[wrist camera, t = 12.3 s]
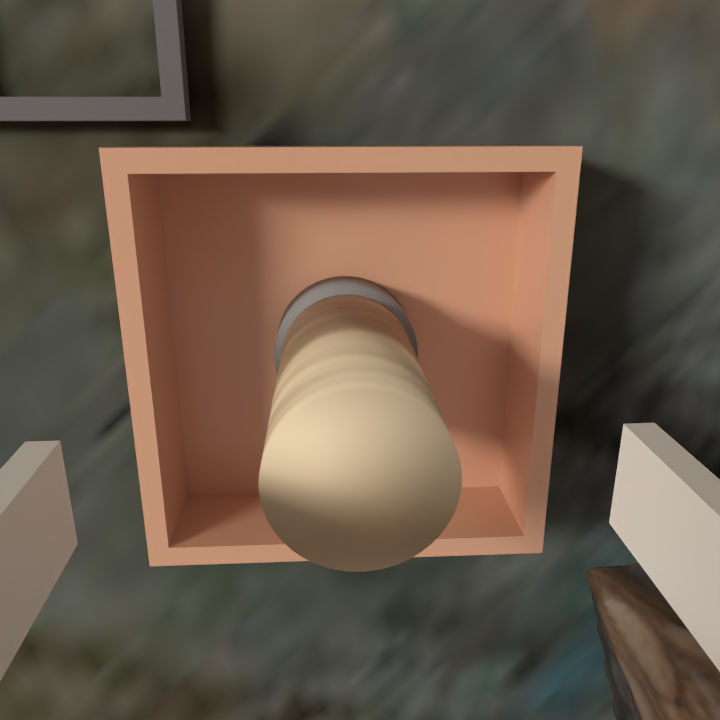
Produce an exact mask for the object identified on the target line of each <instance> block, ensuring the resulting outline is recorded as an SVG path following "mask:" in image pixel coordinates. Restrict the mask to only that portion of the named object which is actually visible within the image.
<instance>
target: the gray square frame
mask: <svg viewBox="0 0 720 720" xmlns="http://www.w3.org/2000/svg"><path fill="white" fill-rule="evenodd" d="M153 9H154V20H155V31H156V42H157V53H158V64H159V75H160V86H161V97H0V121H191V115H190V103H189V90H188V77H187V64H186V52H185V39H184V26H183V14H182V1H181V0H153Z"/></svg>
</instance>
